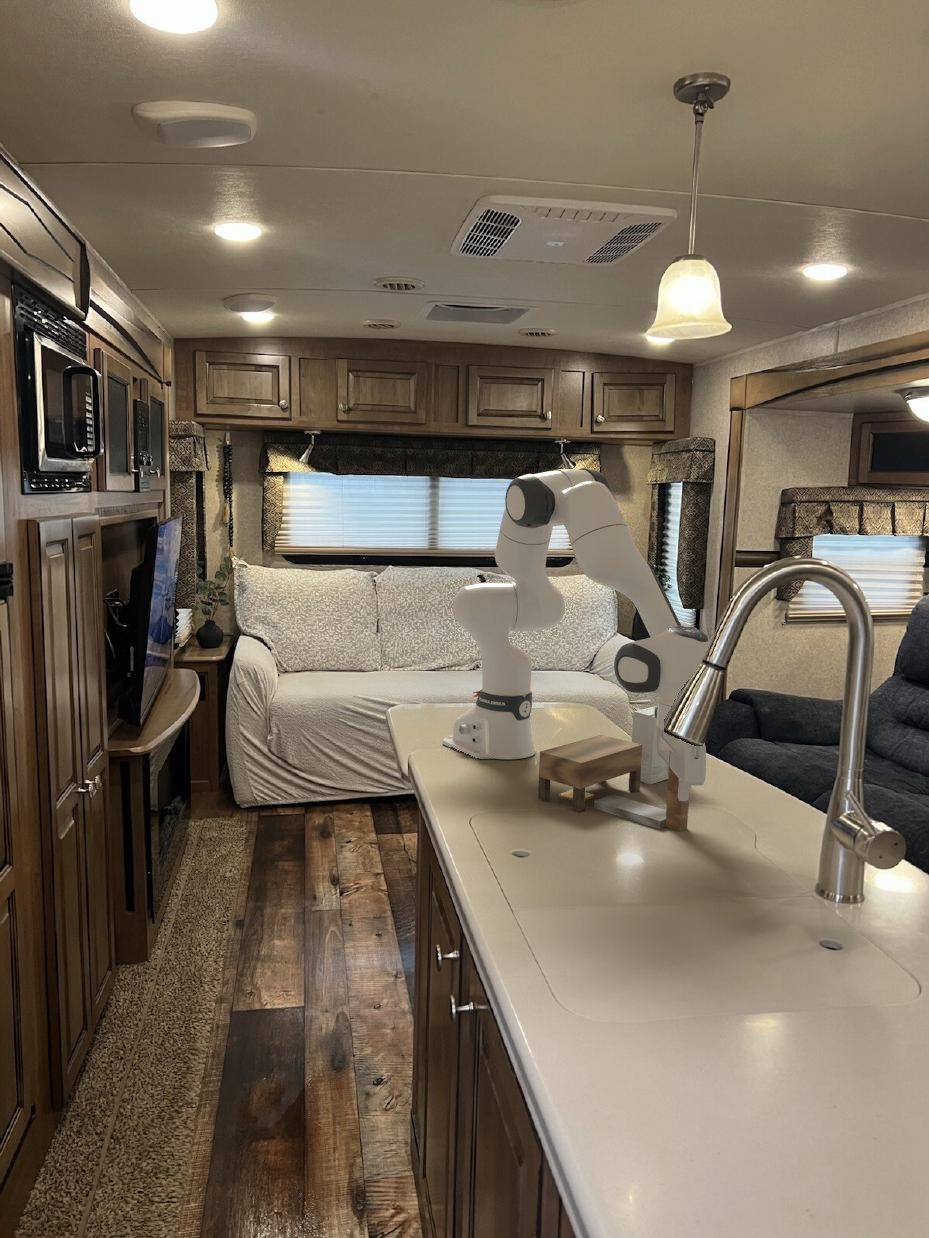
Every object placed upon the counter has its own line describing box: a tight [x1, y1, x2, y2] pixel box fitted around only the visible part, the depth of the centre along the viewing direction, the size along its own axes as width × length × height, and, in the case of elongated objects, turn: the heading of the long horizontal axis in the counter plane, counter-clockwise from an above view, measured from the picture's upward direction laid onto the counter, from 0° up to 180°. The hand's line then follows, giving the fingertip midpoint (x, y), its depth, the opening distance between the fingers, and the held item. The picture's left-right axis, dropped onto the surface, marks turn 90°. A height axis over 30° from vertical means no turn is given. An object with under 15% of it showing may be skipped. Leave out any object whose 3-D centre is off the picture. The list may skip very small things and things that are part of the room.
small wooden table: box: [537, 734, 642, 813], centre depth 181 cm, size 10×20×10 cm, turn 135°
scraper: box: [593, 751, 690, 832], centre depth 169 cm, size 18×6×14 cm, turn 45°
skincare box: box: [631, 705, 668, 785], centre depth 193 cm, size 8×6×15 cm
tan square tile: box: [558, 788, 595, 802], centre depth 180 cm, size 5×5×1 cm
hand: (678, 794), depth 164 cm, fingers open, 4 cm apart
